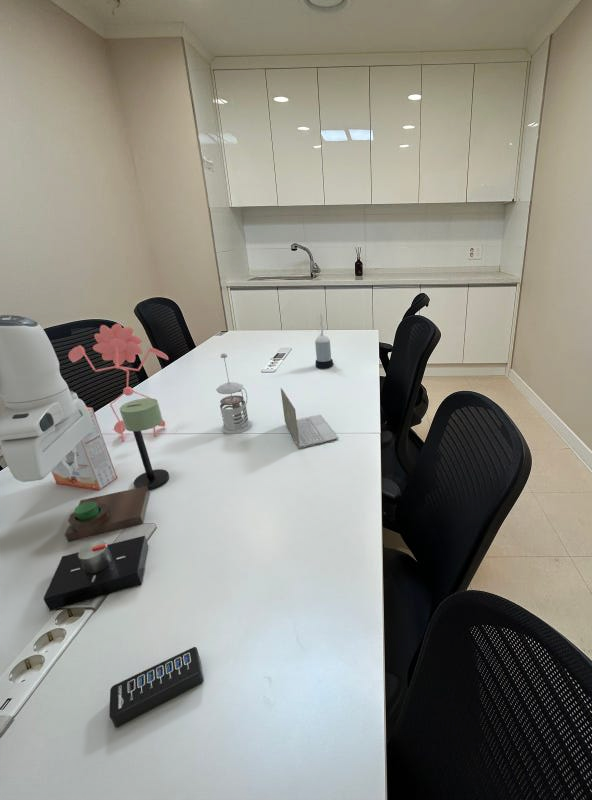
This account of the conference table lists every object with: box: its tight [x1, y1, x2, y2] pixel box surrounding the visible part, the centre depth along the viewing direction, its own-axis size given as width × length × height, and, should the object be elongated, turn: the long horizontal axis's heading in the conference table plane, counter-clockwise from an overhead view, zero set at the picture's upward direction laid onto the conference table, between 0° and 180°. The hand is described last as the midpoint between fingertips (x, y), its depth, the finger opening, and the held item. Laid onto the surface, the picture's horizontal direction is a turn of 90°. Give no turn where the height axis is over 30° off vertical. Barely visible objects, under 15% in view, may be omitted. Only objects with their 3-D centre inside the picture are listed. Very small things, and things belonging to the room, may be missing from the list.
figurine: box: [68, 323, 177, 442], centre depth 120 cm, size 15×26×35 cm, turn 108°
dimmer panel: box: [43, 535, 149, 612], centre depth 72 cm, size 14×10×3 cm
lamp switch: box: [73, 501, 99, 521], centre depth 83 cm, size 4×4×2 cm
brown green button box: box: [64, 486, 151, 543], centre depth 87 cm, size 14×12×4 cm
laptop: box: [280, 387, 339, 449], centre depth 120 cm, size 18×12×13 cm
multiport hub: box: [108, 646, 205, 728], centre depth 54 cm, size 4×11×2 cm, turn 120°
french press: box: [215, 353, 253, 435], centre depth 123 cm, size 10×12×25 cm
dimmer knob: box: [77, 540, 112, 574], centre depth 70 cm, size 4×4×4 cm
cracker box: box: [50, 406, 118, 491], centre depth 96 cm, size 14×6×21 cm, turn 76°
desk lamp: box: [119, 397, 170, 492], centre depth 96 cm, size 10×8×22 cm
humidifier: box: [314, 311, 335, 370], centre depth 177 cm, size 8×8×25 cm
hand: (70, 473), depth 74 cm, fingers closed
